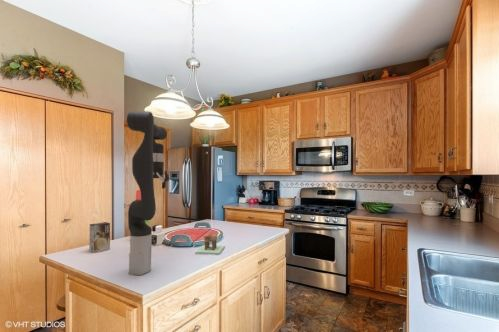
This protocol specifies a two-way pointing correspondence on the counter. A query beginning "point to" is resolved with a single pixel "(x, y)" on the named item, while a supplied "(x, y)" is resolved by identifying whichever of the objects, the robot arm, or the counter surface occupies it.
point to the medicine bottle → (157, 235)
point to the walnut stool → (210, 240)
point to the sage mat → (210, 250)
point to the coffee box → (99, 237)
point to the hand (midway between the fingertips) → (156, 188)
